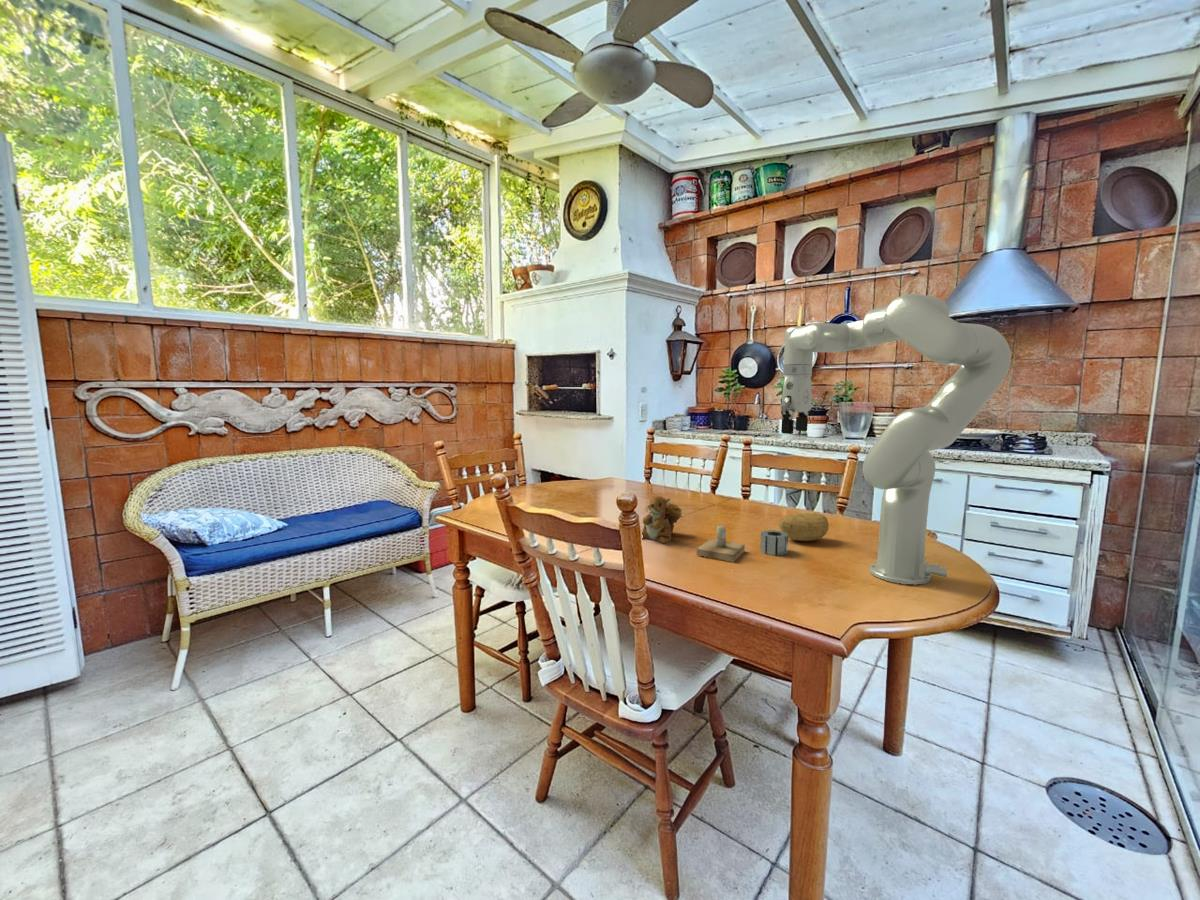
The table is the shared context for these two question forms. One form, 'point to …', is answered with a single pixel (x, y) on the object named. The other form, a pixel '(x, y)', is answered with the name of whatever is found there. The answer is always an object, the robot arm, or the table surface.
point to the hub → (774, 542)
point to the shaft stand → (721, 547)
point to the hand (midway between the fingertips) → (794, 432)
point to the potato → (804, 526)
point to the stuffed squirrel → (660, 519)
